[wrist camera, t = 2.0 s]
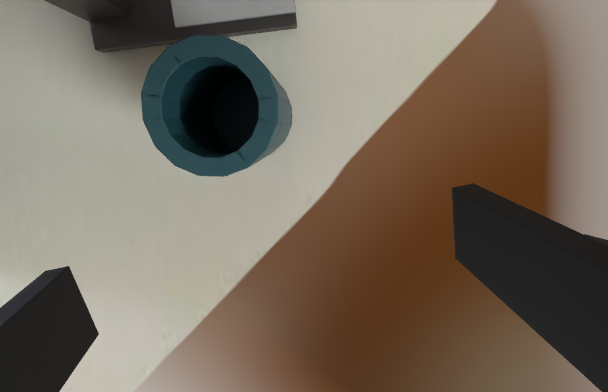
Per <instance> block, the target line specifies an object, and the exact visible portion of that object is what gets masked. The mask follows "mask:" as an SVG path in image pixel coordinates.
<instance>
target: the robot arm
mask: <svg viewBox="0 0 608 392" xmlns="http://www.w3.org/2000/svg"><path fill="white" fill-rule="evenodd" d="M452 198H453V219H454V237H455V238H454V239H455V258H456V259H457V260H458V261H459V262H460V263H461V264H462V265H463V266H465V267H466V268H467V269H468V270H469V271H470V272H471V273H472V274H473V275H474V276H475V277H477V278H478V279H479V280H480V281H481V282H482V283H483V284H484V285H485V286H486V287H488V288H489V289H490V290H491V291H492V292H493V293H494V294H495V295H496V296H498V297H499V298H500V299H501V300H502V301H503V302H504V303H505V304H506V305H507V306H509V307H510V308H511V309H512V310H513V311H514V312H515V313H516V314H517V315H518V316H519V317H521V318H522V319H523V320H524V321H525V322H526V323H527V324H528V325H529V326H530V327H531V328H533V329H534V330H535V331H536V332H537V333H538V334H539V335H540V336H541V337H543V338H544V339H545V340H546V341H547V342H548V343H549V344H550V345H551V346H552V347H553V348H555V349H556V350H557V351H558V352H559V353H560V354H561V355H562V356H563V357H564V358H566V359H567V360H568V361H569V362H570V363H571V364H572V365H573V366H574V367H576V368H577V369H578V370H579V371H580V372H581V373H582V374H584V376H585V377H586V378H588V379H589V380H590V381H591V382H592V383H593V384H594V385H595V386H596V387H597V388H599V389H600V390H601V391H602V392H608V240H605V239H601V238H597V237H593V236H590V235H585V234H584V235H583V234H581V233H579V232H576V231H574V230H572V229H570V228H568V227H566V226H563V225H561V224H559V223H557V222H555V221H553V220H551V219H548V218H546V217H544V216H542V215H540V214H537V213H536V212H534V211H531V210H529V209H527V208H525V207H523V206H521V205H518V204H516V203H514V202H512V201H510V200H508V199H505V198H503V197H501V196H499V195H497V194H495V193H493V192H490V191H488V190H486V189H484V188H482V187H480V186H478V185H476V184H469V185H464V186H458V187H454V188H452ZM98 335H99V333H98V331H97V329H96V327H95V324H94V322H93V320H92V318H91V315H90V313H89V311H88V308H87V306H86V304H85V302H84V299H83V297H82V295H81V293H80V290H79V288H78V286H77V283H76V281H75V279H74V277H73V274H72V272H71V270H70V268H69V266H67V267H63V268H58V269H53V270H48V271H45V272H44V273H42V274H41V275H40V276H39V277H38V278H36V279H35V280H34V281H33V282H31V283H30V284H29V285H28V286H27V287H25V288H24V289H23V290H22V291H20V292H19V293H18V294H17V295H16V296H14V297H13V298H12V299H11V300H9V301H8V302H7V303H6V304H5V305H3V306H2V307H1V308H0V392H59V391H60V390H61V388H62V387H63V385H64V384H65V382H66V381H67V380H68V378H69V377H70V375H71V374H72V372H73V371H74V369H75V368H76V366H77V365H78V364H79V362H80V361H81V359H82V358H83V356H84V355H85V353H86V352H87V351H88V349H89V348H90V346H91V345H92V343H93V342H94V340H95V339H96V337H97V336H98Z"/></svg>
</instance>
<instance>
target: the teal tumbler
mask: <svg viewBox="0 0 608 392" xmlns="http://www.w3.org/2000/svg"><path fill="white" fill-rule="evenodd" d="M141 98H142V112H143V121H144V123H145V126H146V128H147V130H148V132H149V134H150V136H151V138H152V141H153V143H154V145H155V147H156V148H157V149H158V150H159V151H160V152H161V153H162V154H163V155H164V156H165V157H166V158H167V159H168V160H170V161H171V162H172V163H173V164H174V165H175V166H177V167H179V168H182V169H184V170H186V171H189V172H191V173H193V174H196V175H198V176H199V175H200V176H228V175H230V174H233V173H235V172H238V171H240V170H243V169H246V168H248V167H250V166H251V165H253V164H255V163H256V162H258V161H259V160H261V159H263V158H264V157H266V156H267V155H269V154H271V153H272V152H274V151H275V150H276V149H277V148H278V147H279V146H280V145H281V144H282V143H283V142H284V141H285V139H286V137H287V135H288V133H289V130H290V128H291V125H292V107H291V104H290V101H289V99H288V96H287V94H286V92H285V90H284V89H283V88H282V86H281V85H280V84H279V82H278V81H277V80H276V79H275V77H274V76H273V75H272V74H271V72H270V71H269V70H268V68H267V67H266V66H265V65H264V64H263V63H262V62H261V61H260V60H259V59H258V58H257V57H256V55H255V54H254V53H253V52H252V51H251V50H250V49H249V48H248V47H246V46H244V45H242V44H240V43H237V42H235V41H233V40H231V39H229V38H226V37H224V36H221V35H194V36H190V37H188V38H186V39H183V40H181V41H179V42H177V43H174V44H172V45H170V46H169V47H167V48H166V49H165V51H164V52H163V53H162V54H161V55H160V56H159V57H158V58H157V60H156V61H155V62H154V63H153V64H152V65H151V67H150V68H149V71H148V74H147V77H146V80H145V83H144V86H143V89H142V92H141Z"/></svg>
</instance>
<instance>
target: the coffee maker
mask: <svg viewBox="0 0 608 392" xmlns="http://www.w3.org/2000/svg"><path fill="white" fill-rule="evenodd" d="M45 1H47V2H49V3H51V4H53V5H55V6H58V7H60V8H62V9H64V10H66V11H68V12H70V13H72V14H75V15H77V16H79V17H81V18H83V19H85V20H87V21H89V22H90V27H91V32H92V37H93V41H94V46H95V50H97V51H100V52H111V51H119V50H127V49H135V48H143V47H151V46H159V45H166V44H174V43H177V42H179V41H181V40H183V39H186V38H188V37H190V36H194V35H221V36H224V37H230V36H238V35H246V34H254V33H262V32H270V31H278V30H286V29H294V28H297V22H296V12H295V3H294V0H45Z"/></svg>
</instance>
